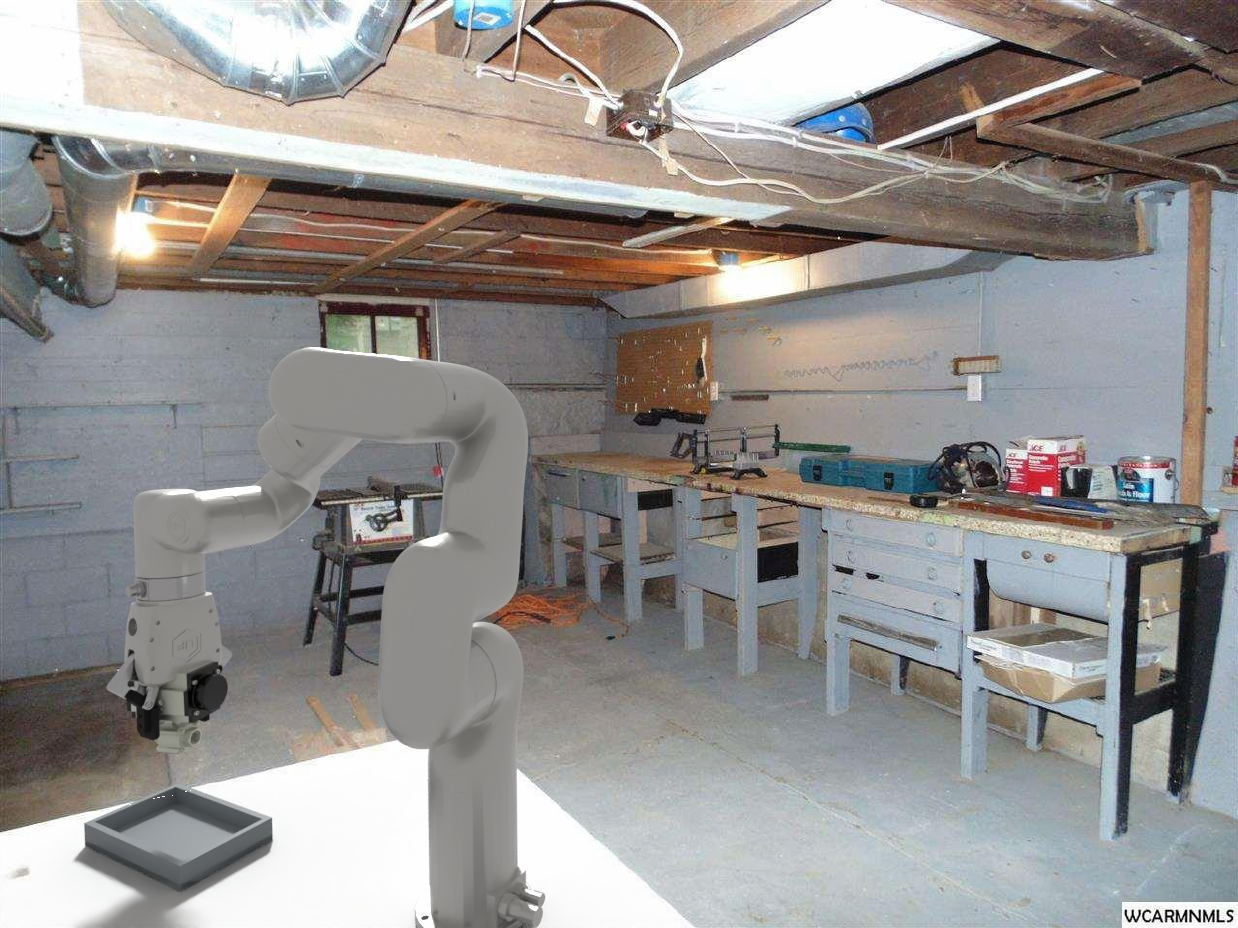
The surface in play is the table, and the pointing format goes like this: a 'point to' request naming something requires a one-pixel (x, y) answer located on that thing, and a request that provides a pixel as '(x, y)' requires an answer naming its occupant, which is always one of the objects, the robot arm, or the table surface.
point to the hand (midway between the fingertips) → (175, 726)
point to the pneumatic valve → (186, 706)
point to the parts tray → (178, 835)
